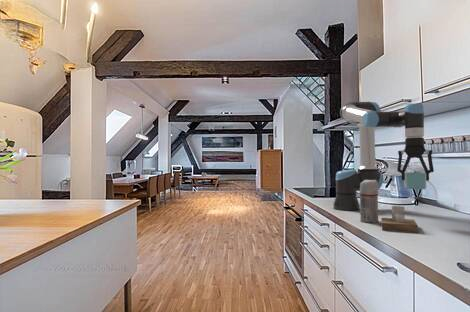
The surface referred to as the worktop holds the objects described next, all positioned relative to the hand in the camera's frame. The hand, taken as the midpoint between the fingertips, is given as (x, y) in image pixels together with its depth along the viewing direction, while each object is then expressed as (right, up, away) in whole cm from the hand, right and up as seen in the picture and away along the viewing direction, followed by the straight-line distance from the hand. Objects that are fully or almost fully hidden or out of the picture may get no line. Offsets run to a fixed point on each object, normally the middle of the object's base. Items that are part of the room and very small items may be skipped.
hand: (415, 187), depth 143 cm
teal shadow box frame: (0, 0, 0) cm, 0 cm away
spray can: (-18, -17, +7) cm, 26 cm away
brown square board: (-12, -17, -9) cm, 22 cm away
